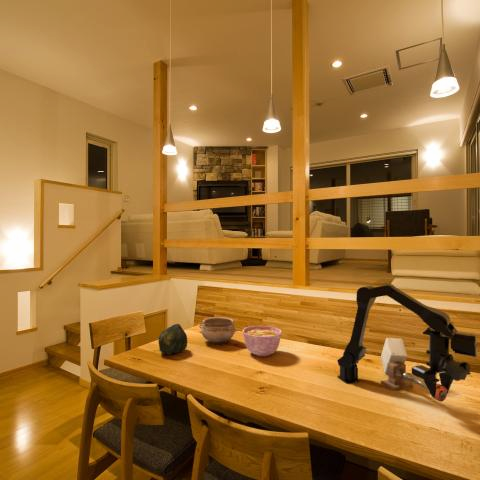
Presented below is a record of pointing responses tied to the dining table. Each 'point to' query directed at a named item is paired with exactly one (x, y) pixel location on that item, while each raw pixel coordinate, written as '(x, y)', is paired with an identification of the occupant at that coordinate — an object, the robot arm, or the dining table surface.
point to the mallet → (440, 390)
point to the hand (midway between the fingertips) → (439, 395)
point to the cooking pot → (218, 329)
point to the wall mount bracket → (396, 376)
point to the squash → (172, 340)
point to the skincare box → (393, 352)
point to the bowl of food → (262, 339)
